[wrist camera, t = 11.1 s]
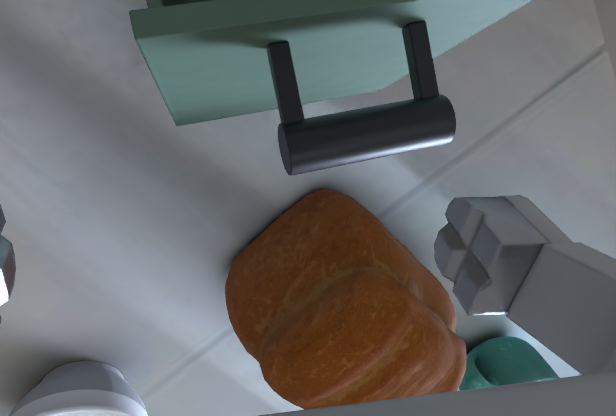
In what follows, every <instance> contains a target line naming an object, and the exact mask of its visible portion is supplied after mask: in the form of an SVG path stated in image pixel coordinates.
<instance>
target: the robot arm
mask: <svg viewBox="0 0 616 416" xmlns="http://www.w3.org/2000/svg"><path fill="white" fill-rule="evenodd" d="M445 216H446V218H447V221H448V224H447V225H445V226H444V227H443V228H442V229H441V230H440V231H439V232H438V235H437V238H436V241H435V244H434V256H435V261H436V264H437V267H438V269H439V270H440V272H441V274H442V275H443V276H444V277H446V278H447V279H449V280H450V281H452V282H454V287H453V293H454V294H455V296H456V297H457V299H458V300H459V302H460V304H461V305H462V307H463V308H464V310H465V311H466V313H467V315H468V316H472V315H493V314H506V316H507V317H508V318H509V319H510V320H512V321H513V322H514V323H516V324H517V325H518V326H520V327H521V328H522V329H523V330H525V331H526V332H527V333H529V334H530V335H531V336H532V337H534V338H535V339H536V340H538V341H539V342H540V343H542V344H543V345H544V346H545V347H547V348H548V349H549V350H551V351H552V352H553V353H555V354H556V355H557V356H558V357H560V358H561V359H562V360H564V361H565V362H566V363H568V364H569V365H570V366H571V367H573V368H574V369H575V370H577V371H578V372H579V373H581V374H582V376H574V377H566V378H558V379H549V380H541V381H533V382H525V383H517V384H509V385H501V386H493V387H485V388H477V389H469V390H461V391H453V392H445V393H437V394H429V395H421V396H413V397H405V398H397V399H389V400H381V401H372V402H364V403H356V404H348V405H340V406H332V407H324V408H316V409H308V410H300V411H292V412H284V413H275V414H267V415H259V416H616V259H614V258H612V257H609V256H607V255H605V254H603V253H601V252H599V251H597V250H595V249H593V248H590V247H588V246H586V245H584V244H582V243H573V242H572V241H571V240H570V239H569V238H568V237H567V236H566V235H565V234H564V233H563V232H562V231H561V230H560V229H559V228H558V227H557V226H556V225H555V224H554V223H553V222H552V221H551V220H550V219H549V218H548V217H547V216H546V215H545V214H544V213H543V212H542V211H541V210H539V209H538V208H537V207H536V206H535V205H534V204H533V203H532V202H531V201H530V200H529V199H528V198H526V197H523V196H521V195H515V196H498V197H464V198H454V199H453V200H452V201H451V202H450V204H449V205H448V208H447V211H446V213H445ZM5 223H6V220H5V217H4V214H3V211H2V207H1V205H0V234H1V232H2V230H3V227H4V225H5ZM15 272H16V264H15V254H14V250H13V246H12V243H11V242H9V241H8V240H7V239H6V238H4V237H3V236H2V235H0V305H2V304H3V303H4V302H6V301H7V300H8V299H9V298H10V295H11V292H12V290H13V287H14V281H15ZM0 323H1V316H0Z"/></svg>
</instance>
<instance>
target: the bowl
mask: <svg viewBox="0 0 616 416" xmlns="http://www.w3.org/2000/svg"><path fill="white" fill-rule="evenodd" d="M9 416H148V415H147V413H146V410H145V407H144V403H143V402H142V400H141V399H140V397H139V396H138V394H137V393H136V392H135V390H134V389H133V388H132V387H131V386H130V385H129V384H128V383H127V382H126V381H125V380H124V377H123V375H122V374H121V372H120V371H118V370H117V369H116V368H114V367H113V366H111V365H108V364H105V363H102V362H97V361H77V362H72V363H68V364H65V365H62V366H59V367H57V368H55V369H53V370H52V371H51V372H49V373H48V374H47V375H46V376H45V377H44V378H43V379H42V381H41V382H40V384H39V385H37V386H36V387H35V388H33V389H32V390H31V391H29V393H28V394H27V395H26V396H25V397H24V398H23V399H22V400H21V401H20V402H19V403H18V404H17V405H16V406H15V407H14V408H13V410H12V411H11V413H10V415H9Z"/></svg>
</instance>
